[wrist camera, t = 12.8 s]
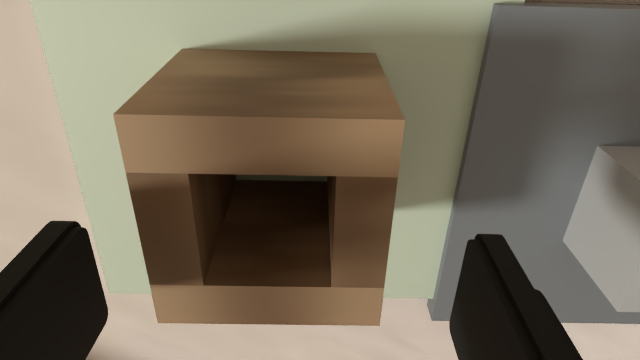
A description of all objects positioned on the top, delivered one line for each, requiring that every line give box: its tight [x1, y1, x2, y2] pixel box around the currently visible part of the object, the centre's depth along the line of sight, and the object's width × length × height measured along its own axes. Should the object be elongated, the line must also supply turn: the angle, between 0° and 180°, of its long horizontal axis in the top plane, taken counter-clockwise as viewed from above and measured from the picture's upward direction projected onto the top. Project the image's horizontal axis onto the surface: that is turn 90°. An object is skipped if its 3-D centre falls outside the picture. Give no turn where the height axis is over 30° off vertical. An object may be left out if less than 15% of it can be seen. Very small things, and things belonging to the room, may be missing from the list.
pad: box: [30, 0, 525, 299], centre depth 17 cm, size 16×16×1 cm
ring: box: [113, 49, 405, 326], centre depth 15 cm, size 7×7×6 cm
